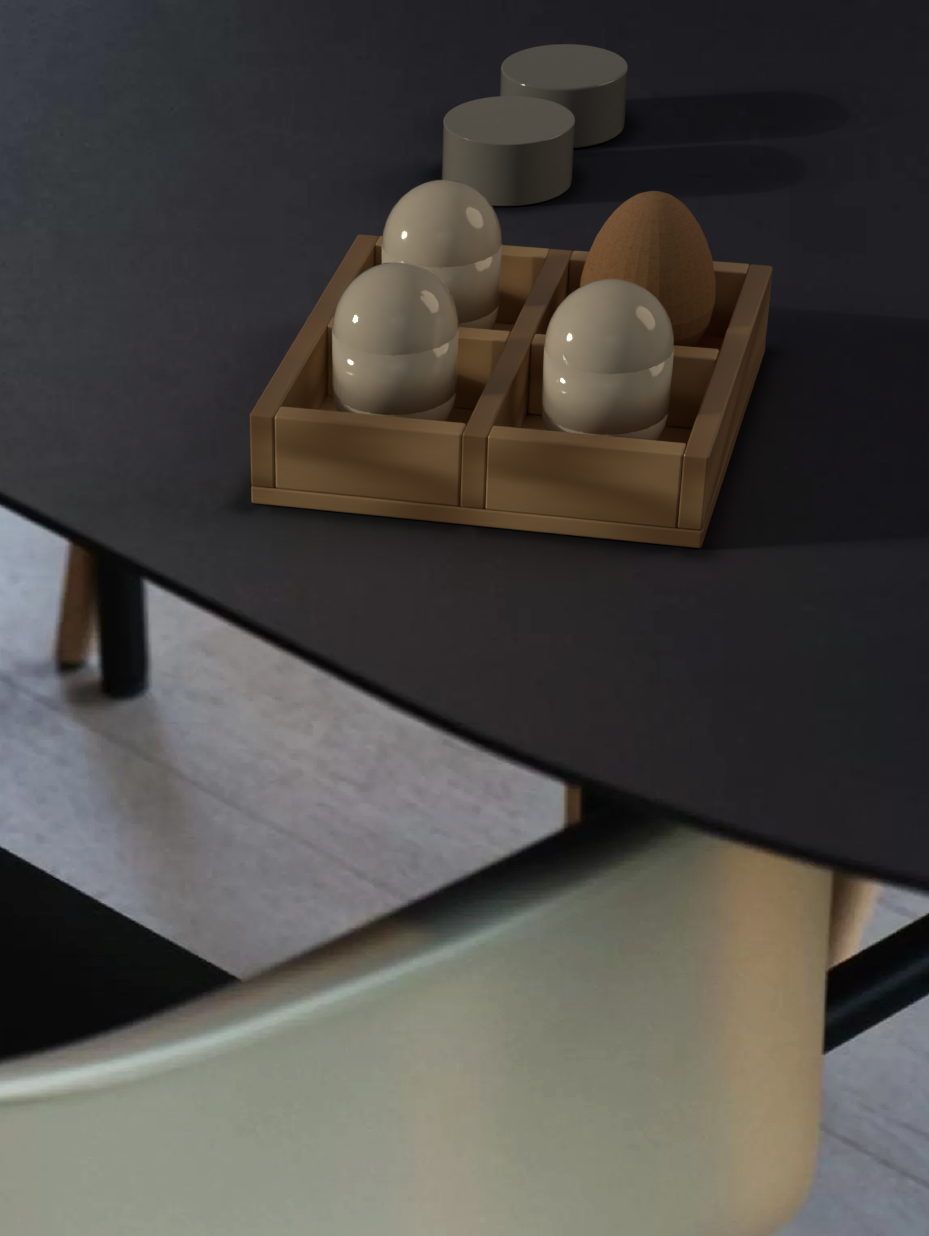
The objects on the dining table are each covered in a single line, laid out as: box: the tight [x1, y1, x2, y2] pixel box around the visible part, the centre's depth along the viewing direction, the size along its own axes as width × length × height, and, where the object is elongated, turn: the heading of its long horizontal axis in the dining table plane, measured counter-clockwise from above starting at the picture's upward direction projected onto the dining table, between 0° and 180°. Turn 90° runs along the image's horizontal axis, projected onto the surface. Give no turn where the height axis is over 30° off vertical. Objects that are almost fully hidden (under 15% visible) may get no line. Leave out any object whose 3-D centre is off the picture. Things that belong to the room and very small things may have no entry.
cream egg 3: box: [541, 279, 674, 441], centre depth 91 cm, size 4×4×6 cm
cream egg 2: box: [332, 262, 459, 421], centre depth 93 cm, size 4×4×6 cm
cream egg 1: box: [381, 179, 503, 330], centre depth 98 cm, size 4×4×6 cm
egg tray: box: [249, 234, 774, 549], centre depth 96 cm, size 14×14×3 cm
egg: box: [580, 190, 716, 347], centre depth 96 cm, size 4×4×6 cm
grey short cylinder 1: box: [441, 95, 575, 207], centre depth 112 cm, size 5×5×2 cm
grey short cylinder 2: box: [499, 43, 629, 149], centre depth 116 cm, size 5×5×2 cm
